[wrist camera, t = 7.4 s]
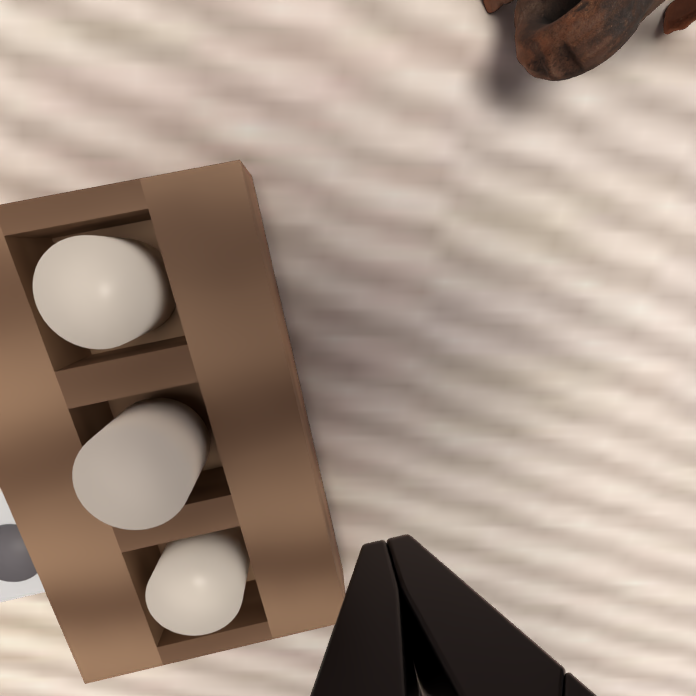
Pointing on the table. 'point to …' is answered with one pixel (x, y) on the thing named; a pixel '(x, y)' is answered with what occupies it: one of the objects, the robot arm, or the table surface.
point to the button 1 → (102, 290)
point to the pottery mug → (581, 31)
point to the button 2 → (199, 582)
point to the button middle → (142, 464)
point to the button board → (173, 383)
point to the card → (15, 560)
